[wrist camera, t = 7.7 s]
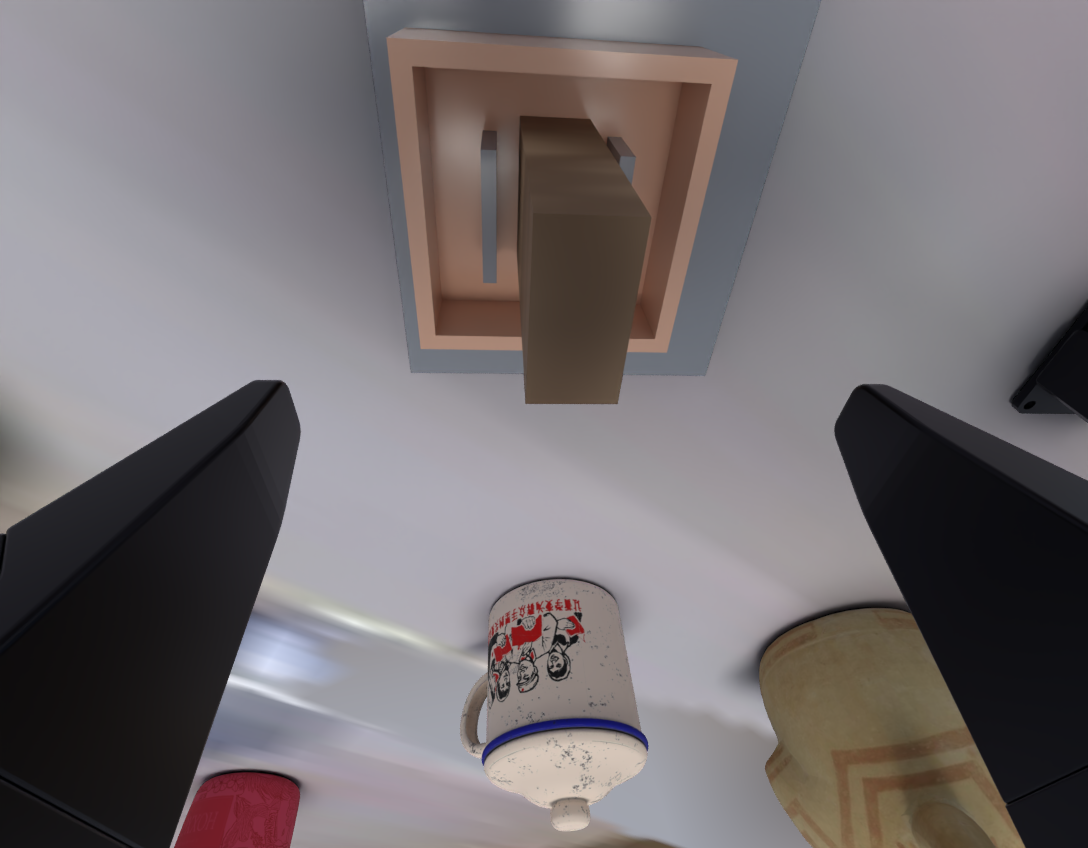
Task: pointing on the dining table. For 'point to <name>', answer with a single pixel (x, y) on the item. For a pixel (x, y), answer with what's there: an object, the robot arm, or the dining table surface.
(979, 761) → the ceramic vessel
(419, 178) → the open square box
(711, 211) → the slate board
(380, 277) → the dining table surface
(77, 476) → the dining table surface
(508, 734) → the teacup with lid
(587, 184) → the beveled wooden wedge block
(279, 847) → the wine bottle
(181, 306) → the dining table surface
